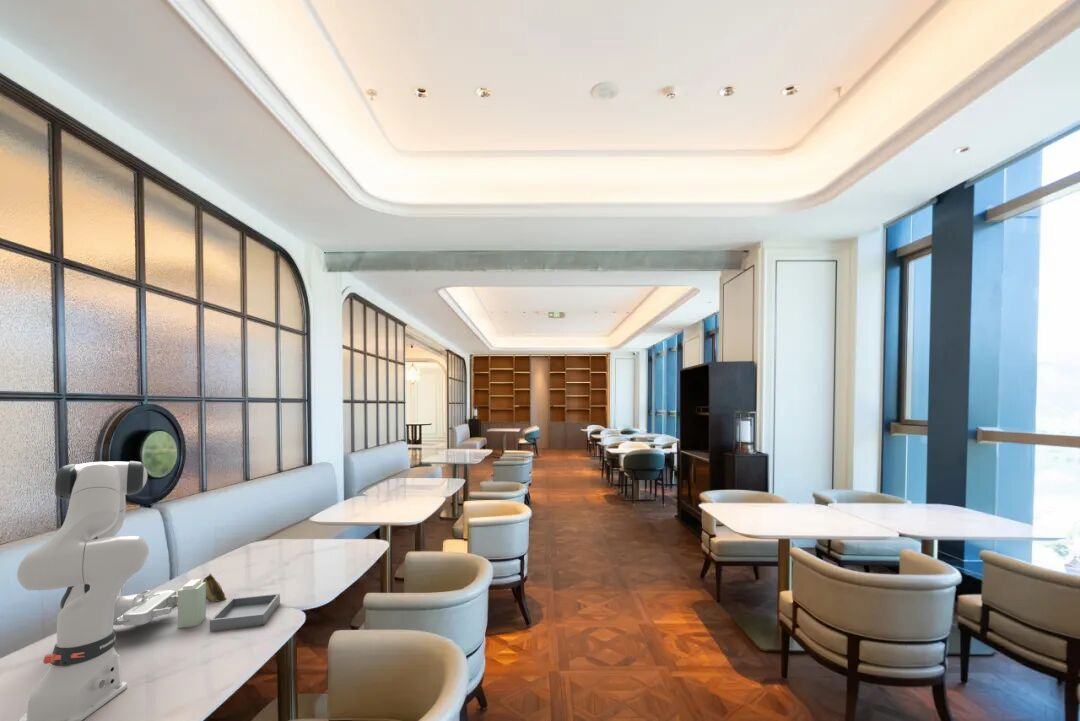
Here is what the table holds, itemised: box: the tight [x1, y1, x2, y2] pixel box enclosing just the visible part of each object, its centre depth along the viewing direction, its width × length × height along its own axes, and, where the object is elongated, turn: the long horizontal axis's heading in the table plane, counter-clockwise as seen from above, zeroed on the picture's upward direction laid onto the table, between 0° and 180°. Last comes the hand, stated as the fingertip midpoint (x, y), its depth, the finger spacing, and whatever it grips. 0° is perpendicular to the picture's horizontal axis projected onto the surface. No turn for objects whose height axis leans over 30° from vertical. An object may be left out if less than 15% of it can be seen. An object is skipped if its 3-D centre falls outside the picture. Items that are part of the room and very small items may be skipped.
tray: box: [209, 593, 281, 632], centre depth 177 cm, size 18×16×4 cm
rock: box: [201, 573, 227, 602], centre depth 196 cm, size 11×9×10 cm
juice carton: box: [177, 578, 207, 629], centre depth 174 cm, size 6×6×13 cm
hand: (178, 604), depth 173 cm, fingers open, 8 cm apart
